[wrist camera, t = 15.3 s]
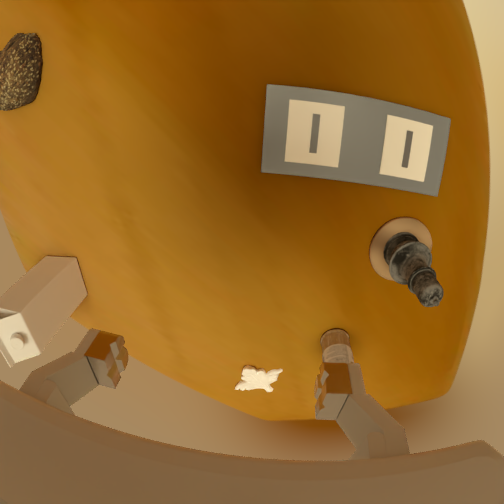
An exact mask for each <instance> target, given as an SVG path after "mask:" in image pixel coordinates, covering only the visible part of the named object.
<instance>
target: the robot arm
mask: <svg viewBox="0 0 504 504" xmlns="http://www.w3.org/2000/svg"><path fill="white" fill-rule="evenodd" d="M124 343H125V341H124V338H123V336H121V335H117V334H113V333H109V332H105V331H101V330H97V329H93V328H92V329H90V330H89V331H88V332H87V334H86V335H85V337H84V338H83V340H82V341H81V343H80V344H79V346H78V347H77V348H76V350H75V351H74V352H70V353H68V354H66V355H64V356H62V357H60V358H58V359H56V360H54V361H52V362H50V363H48V364H46V365H44V366H42V367H40V368H38V369H36V370H34V371H32V372H31V374H30V375H29V377H28V378H27V379H26V381H25V382H24V384H23V385H22V387H21V388H20V390H18V389H16V388H14V387H12V386H10V385H8V384H6V383H4V382H3V381H1V380H0V504H504V456H503V455H502V454H501V453H500V452H498V451H497V450H496V449H495V448H494V447H492V446H491V445H490V444H488V443H487V442H485V441H483V440H477V441H472V442H468V443H464V444H460V445H456V446H451V447H447V448H442V449H437V450H432V451H426V452H420V453H414V454H410V452H409V447H408V443H407V438H406V434H405V429H404V428H403V427H402V426H401V425H400V424H399V423H398V422H397V421H396V420H395V419H393V418H392V416H390V414H388V413H387V411H386V410H384V409H383V408H382V407H381V406H380V405H379V404H378V403H377V402H376V401H375V400H374V399H373V398H372V397H371V396H370V395H369V394H366V392H365V387H364V382H363V377H362V373H361V368H360V365H359V363H331V362H322V364H321V366H320V374H319V375H317V378H316V382H315V398H316V399H317V402H316V405H315V412H316V419H325V420H336V422H337V423H338V424H339V426H340V427H341V429H342V430H343V431H344V433H345V434H346V435H347V437H348V438H349V440H350V441H351V442H352V444H353V445H354V447H355V448H356V449H357V450H356V451H355V452H354V454H353V455H352V456H351V457H350V459H349V460H336V461H299V460H277V459H263V458H252V457H243V456H234V455H227V454H220V453H213V452H207V451H201V450H195V449H190V448H185V447H180V446H175V445H171V444H166V443H162V442H158V441H154V440H150V439H145V438H142V437H138V436H135V435H131V434H128V433H124V432H121V431H118V430H115V429H112V428H109V427H106V426H102V425H100V424H97V423H94V422H91V421H88V420H86V419H83V418H80V417H78V416H75V414H74V412H73V411H72V409H71V408H70V406H71V405H73V404H74V403H75V402H77V401H78V400H79V399H80V398H82V397H83V396H85V395H86V394H87V393H89V392H90V391H91V390H93V389H94V388H96V387H97V386H98V384H99V385H102V386H106V387H110V388H114V389H115V388H116V386H117V384H118V382H119V380H120V378H121V376H120V373H121V372H122V371H124V370H125V368H126V366H127V363H128V351H127V349H126V348H125V347H124V346H123V345H124Z"/></svg>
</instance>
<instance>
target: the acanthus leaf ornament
mask: <svg viewBox="0 0 504 504" xmlns="http://www.w3.org/2000/svg"><path fill="white" fill-rule="evenodd" d="M282 371H283V369H273V370H270V371H268V372H267V373H266V372H265V370H264V369H262V368H261V369H258V370H257V369H256V368H255V367H252V366H249V365H246V366H245V367H244V368H243V372H242V376H241V379H242V381H240V382H238V384H237V385H236V386H235V389H236V390H238V389H240V390H242V391H243V390H245V389H246V390H251V389H257V388H263V389H265V390H266V391H267V392H272V391H273V388H272V387H271V386H270V383H272V382H274V381H276V380H277V379H278V375H279V373H281V372H282Z"/></svg>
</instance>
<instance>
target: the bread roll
mask: <svg viewBox="0 0 504 504" xmlns="http://www.w3.org/2000/svg"><path fill="white" fill-rule="evenodd" d="M41 67H42V58H41V42H40V40H39V38H38V36H37V35H36V34H35V33H32V34H31V33H28V34H22V33H17V34H16V35H15V36H14V37H13V38H11V40H10V41H9V42H8V44H7V45H6V46H5V48H4V49H3V50H2V51H0V110H5V111H7V110H12V109H15V108H18V107H20V106H23V105H26V104H28V103H31V102H32V101H33V100H34V99H35V97H36V95H37V92H38V87H39V83H40V80H41V78H40V75H41Z"/></svg>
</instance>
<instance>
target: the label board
mask: <svg viewBox="0 0 504 504" xmlns="http://www.w3.org/2000/svg"><path fill="white" fill-rule="evenodd" d="M450 122H451V119H450V118H446V117H443V116H440V115H437V114H433V113H430V112H426V111H423V110H419V109H415V108H412V107H408V106H404V105H400V104H395V103H391V102H387V101H382V100H378V99H373V98H368V97H363V96H357V95H352V94H346V93H340V92H333V91H326V90H319V89H311V88H303V87H293V86H283V85H270V84H267V92H266V107H265V122H264V136H263V151H262V165H261V172H265V173H276V174H287V175H297V176H306V177H315V178H324V179H332V180H340V181H347V182H354V183H361V184H368V185H375V186H381V187H387V188H393V189H399V190H405V191H411V192H416V193H421V194H427V195H432V196H438V191H439V186H440V182H441V177H442V172H443V167H444V161H445V155H446V149H447V143H448V137H449V129H450Z"/></svg>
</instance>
